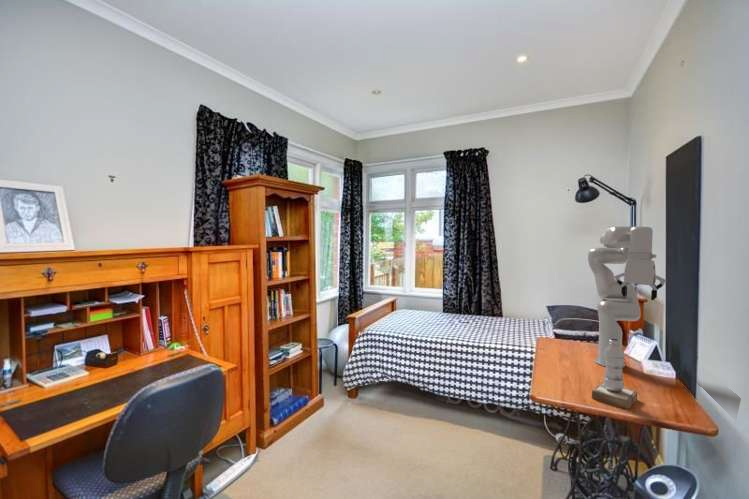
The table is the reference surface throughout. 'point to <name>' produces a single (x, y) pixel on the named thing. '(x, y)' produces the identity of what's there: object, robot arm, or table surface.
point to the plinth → (615, 396)
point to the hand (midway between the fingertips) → (638, 297)
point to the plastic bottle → (614, 366)
